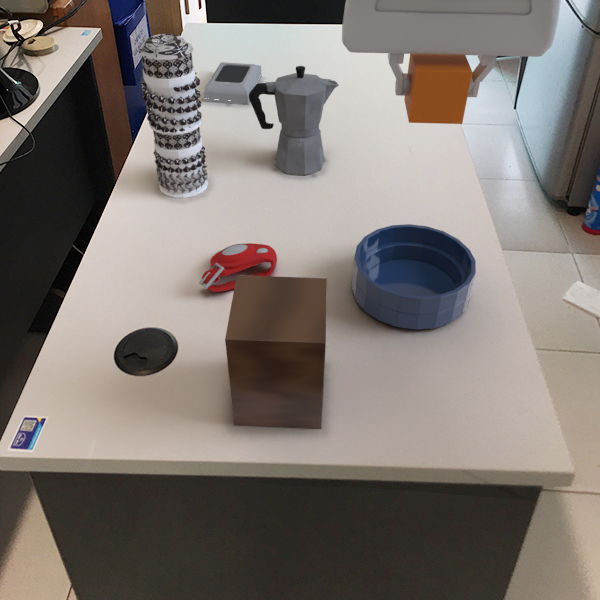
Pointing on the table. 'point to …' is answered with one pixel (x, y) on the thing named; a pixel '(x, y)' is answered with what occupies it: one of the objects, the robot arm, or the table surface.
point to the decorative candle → (174, 114)
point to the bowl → (413, 276)
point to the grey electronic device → (232, 83)
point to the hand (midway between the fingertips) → (435, 94)
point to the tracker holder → (237, 264)
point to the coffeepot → (296, 119)
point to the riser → (277, 351)
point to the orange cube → (438, 88)
